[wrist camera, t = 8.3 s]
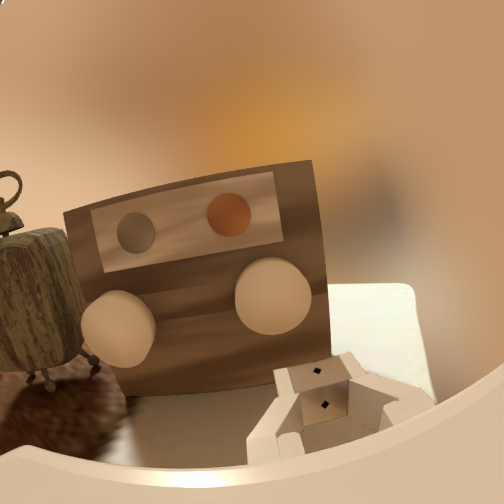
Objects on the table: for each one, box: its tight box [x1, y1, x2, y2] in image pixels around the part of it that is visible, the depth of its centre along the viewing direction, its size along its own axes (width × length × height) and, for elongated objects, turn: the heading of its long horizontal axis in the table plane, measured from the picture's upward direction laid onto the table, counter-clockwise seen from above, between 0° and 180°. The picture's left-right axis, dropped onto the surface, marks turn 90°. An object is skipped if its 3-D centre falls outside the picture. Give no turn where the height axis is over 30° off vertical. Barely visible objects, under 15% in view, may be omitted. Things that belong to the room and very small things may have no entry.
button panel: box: [63, 160, 331, 396], centre depth 23 cm, size 4×20×18 cm, turn 93°
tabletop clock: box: [0, 170, 99, 393], centre depth 22 cm, size 14×9×25 cm, turn 108°
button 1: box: [81, 290, 156, 368], centre depth 20 cm, size 7×5×5 cm
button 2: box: [235, 257, 311, 335], centre depth 22 cm, size 7×5×5 cm
